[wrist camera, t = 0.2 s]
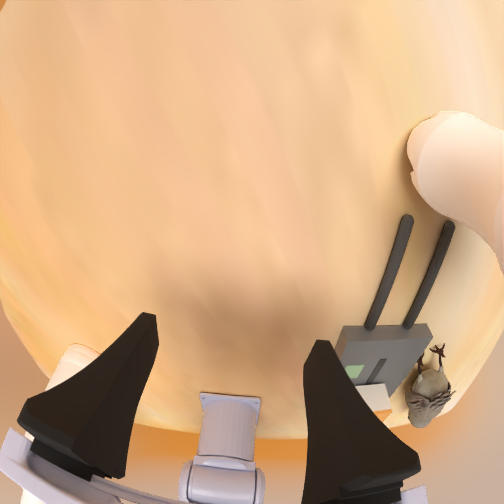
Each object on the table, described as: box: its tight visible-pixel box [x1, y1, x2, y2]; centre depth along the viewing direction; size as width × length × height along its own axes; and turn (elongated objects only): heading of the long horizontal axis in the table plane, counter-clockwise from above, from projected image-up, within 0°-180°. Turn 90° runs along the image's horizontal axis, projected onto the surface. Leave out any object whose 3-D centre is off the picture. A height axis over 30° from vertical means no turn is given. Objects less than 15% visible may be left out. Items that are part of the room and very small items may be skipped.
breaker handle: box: [355, 383, 392, 422], centre depth 26 cm, size 3×4×4 cm
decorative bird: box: [406, 343, 455, 428], centre depth 27 cm, size 6×17×8 cm, turn 20°
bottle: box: [20, 344, 100, 504], centre depth 19 cm, size 8×8×30 cm
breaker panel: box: [335, 324, 433, 398], centre depth 29 cm, size 18×10×2 cm, turn 178°
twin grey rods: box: [365, 214, 455, 331], centre depth 21 cm, size 12×6×1 cm, turn 178°
